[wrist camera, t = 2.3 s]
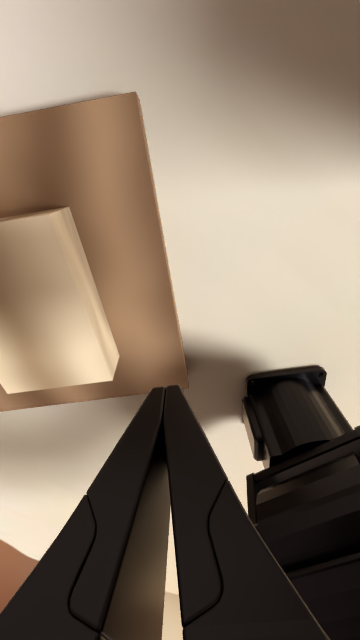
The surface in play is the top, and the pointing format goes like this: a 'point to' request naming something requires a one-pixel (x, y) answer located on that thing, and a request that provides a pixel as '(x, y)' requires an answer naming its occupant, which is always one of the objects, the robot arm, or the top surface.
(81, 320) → the birch plate
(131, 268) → the bench board
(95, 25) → the top surface
